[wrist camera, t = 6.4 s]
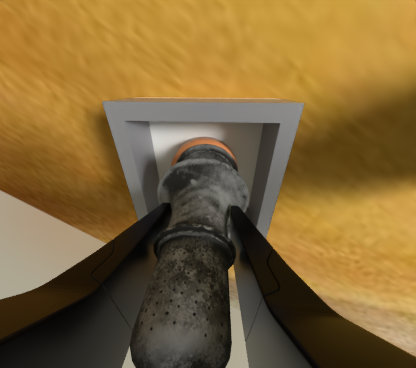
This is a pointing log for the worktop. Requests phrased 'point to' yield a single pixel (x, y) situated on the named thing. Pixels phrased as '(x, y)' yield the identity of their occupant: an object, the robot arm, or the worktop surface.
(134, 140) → the grey square tray
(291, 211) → the worktop surface
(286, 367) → the robot arm
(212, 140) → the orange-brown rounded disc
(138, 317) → the salt shaker
